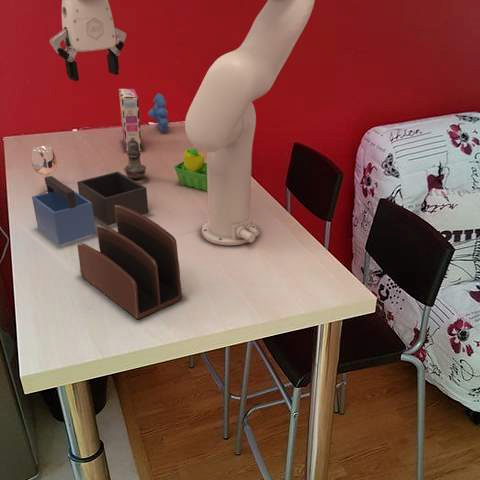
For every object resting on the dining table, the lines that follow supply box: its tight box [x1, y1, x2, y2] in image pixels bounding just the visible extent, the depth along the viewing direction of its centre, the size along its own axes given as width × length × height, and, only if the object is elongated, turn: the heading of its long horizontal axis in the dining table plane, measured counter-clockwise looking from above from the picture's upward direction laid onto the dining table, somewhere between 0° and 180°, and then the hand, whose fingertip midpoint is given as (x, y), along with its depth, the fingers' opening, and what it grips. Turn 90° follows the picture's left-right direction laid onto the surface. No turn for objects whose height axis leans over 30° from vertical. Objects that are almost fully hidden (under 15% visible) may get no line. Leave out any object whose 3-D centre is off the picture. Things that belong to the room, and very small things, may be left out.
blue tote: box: [31, 175, 97, 246], centre depth 126 cm, size 11×9×12 cm
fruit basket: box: [173, 147, 208, 192], centre depth 152 cm, size 11×9×11 cm
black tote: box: [77, 171, 149, 227], centre depth 137 cm, size 13×11×7 cm
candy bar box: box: [118, 88, 143, 153], centre depth 176 cm, size 11×5×16 cm, turn 17°
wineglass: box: [30, 145, 58, 193], centre depth 143 cm, size 6×6×12 cm
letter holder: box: [77, 205, 183, 320], centre depth 107 cm, size 10×20×14 cm, turn 45°
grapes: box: [147, 92, 170, 133], centre depth 191 cm, size 12×7×12 cm, turn 22°
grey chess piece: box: [123, 137, 147, 181], centre depth 153 cm, size 6×6×12 cm
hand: (94, 76), depth 126 cm, fingers open, 9 cm apart
